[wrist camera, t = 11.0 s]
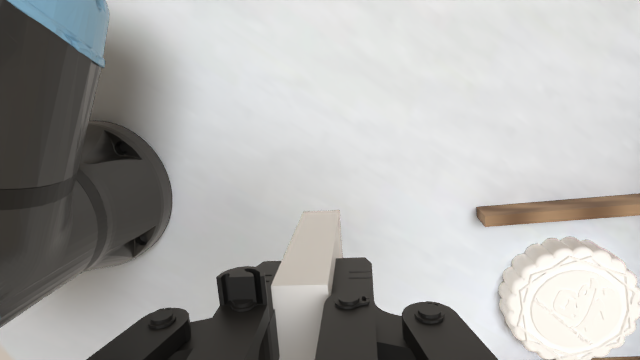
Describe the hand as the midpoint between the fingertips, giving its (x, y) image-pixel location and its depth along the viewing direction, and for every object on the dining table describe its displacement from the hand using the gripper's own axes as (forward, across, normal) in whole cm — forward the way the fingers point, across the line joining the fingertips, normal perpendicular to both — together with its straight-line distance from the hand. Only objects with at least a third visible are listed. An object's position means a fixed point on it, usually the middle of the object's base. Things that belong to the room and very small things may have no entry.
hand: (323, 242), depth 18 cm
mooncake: (+25, +21, -16) cm, 36 cm away
